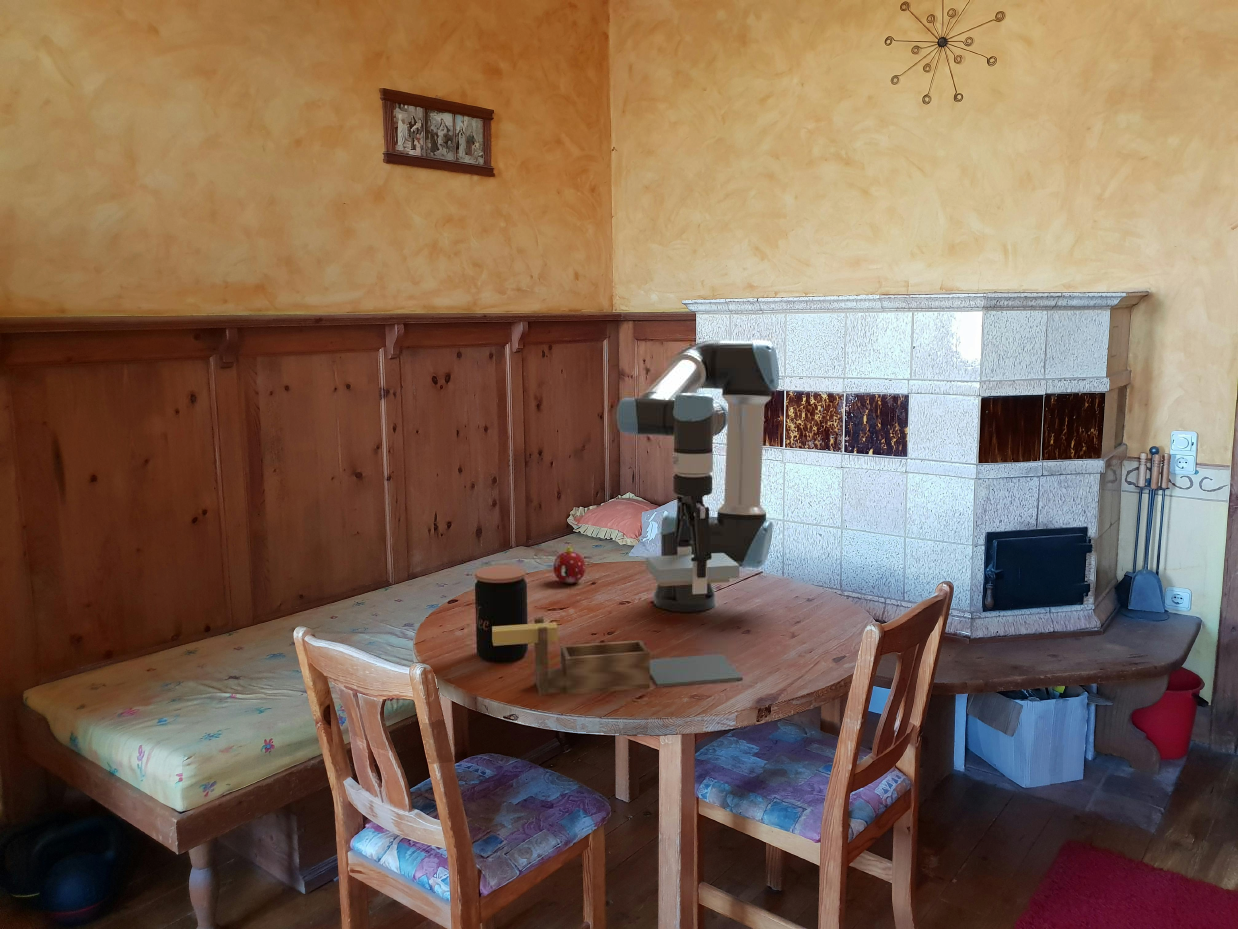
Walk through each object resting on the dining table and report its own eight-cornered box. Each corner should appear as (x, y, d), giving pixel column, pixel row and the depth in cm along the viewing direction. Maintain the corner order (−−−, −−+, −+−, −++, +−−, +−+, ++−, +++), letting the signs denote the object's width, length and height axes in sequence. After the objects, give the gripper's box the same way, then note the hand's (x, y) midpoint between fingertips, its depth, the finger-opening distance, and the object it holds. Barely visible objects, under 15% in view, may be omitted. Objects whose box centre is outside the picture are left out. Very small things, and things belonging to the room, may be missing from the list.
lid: (722, 572, 189) (723, 552, 188) (739, 585, 179) (739, 565, 179) (646, 576, 186) (646, 556, 185) (658, 590, 176) (658, 569, 175)
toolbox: (641, 674, 184) (641, 610, 182) (649, 687, 177) (649, 621, 175) (535, 682, 180) (534, 617, 178) (539, 696, 173) (538, 629, 171)
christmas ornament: (590, 580, 251) (590, 544, 249) (577, 589, 243) (577, 551, 241) (561, 577, 254) (561, 541, 252) (548, 585, 246) (547, 548, 244)
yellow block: (555, 636, 177) (555, 622, 176) (558, 641, 174) (557, 627, 174) (492, 640, 174) (492, 626, 174) (493, 645, 172) (493, 631, 171)
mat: (721, 656, 193) (721, 654, 193) (742, 680, 181) (742, 677, 181) (642, 663, 190) (642, 660, 190) (657, 687, 177) (657, 684, 177)
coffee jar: (478, 647, 199) (476, 565, 197) (528, 645, 200) (526, 564, 198) (474, 665, 189) (472, 579, 186) (527, 663, 190) (526, 578, 187)
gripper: (659, 465, 189) (659, 571, 193) (690, 484, 168) (689, 603, 171) (695, 464, 191) (693, 569, 194) (730, 482, 169) (728, 601, 172)
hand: (691, 585), depth 183 cm, fingers closed on lid, 10 cm apart
